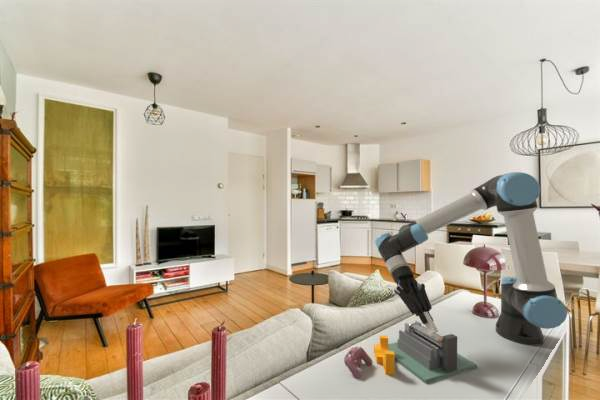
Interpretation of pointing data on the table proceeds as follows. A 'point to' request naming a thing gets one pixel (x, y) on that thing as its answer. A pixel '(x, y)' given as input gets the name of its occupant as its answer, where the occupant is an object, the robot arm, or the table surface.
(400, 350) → the heat sink board
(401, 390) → the table surface
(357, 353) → the video game controller
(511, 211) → the robot arm
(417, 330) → the retention strap
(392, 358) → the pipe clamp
